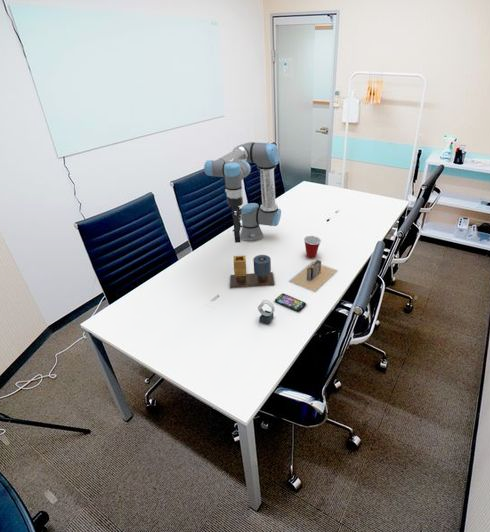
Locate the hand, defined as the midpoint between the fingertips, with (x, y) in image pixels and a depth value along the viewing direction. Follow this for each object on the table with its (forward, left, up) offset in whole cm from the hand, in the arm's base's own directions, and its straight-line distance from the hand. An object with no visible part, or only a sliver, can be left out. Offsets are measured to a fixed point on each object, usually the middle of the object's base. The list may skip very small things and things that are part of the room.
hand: (237, 236), depth 171 cm
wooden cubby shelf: (0, 0, -23) cm, 23 cm away
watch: (+34, -9, -29) cm, 46 cm away
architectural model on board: (+22, +35, -29) cm, 50 cm away
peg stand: (+3, +5, -29) cm, 29 cm away
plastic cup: (+5, +50, -29) cm, 58 cm away
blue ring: (+7, +10, -23) cm, 26 cm away
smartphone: (+32, +8, -29) cm, 44 cm away
